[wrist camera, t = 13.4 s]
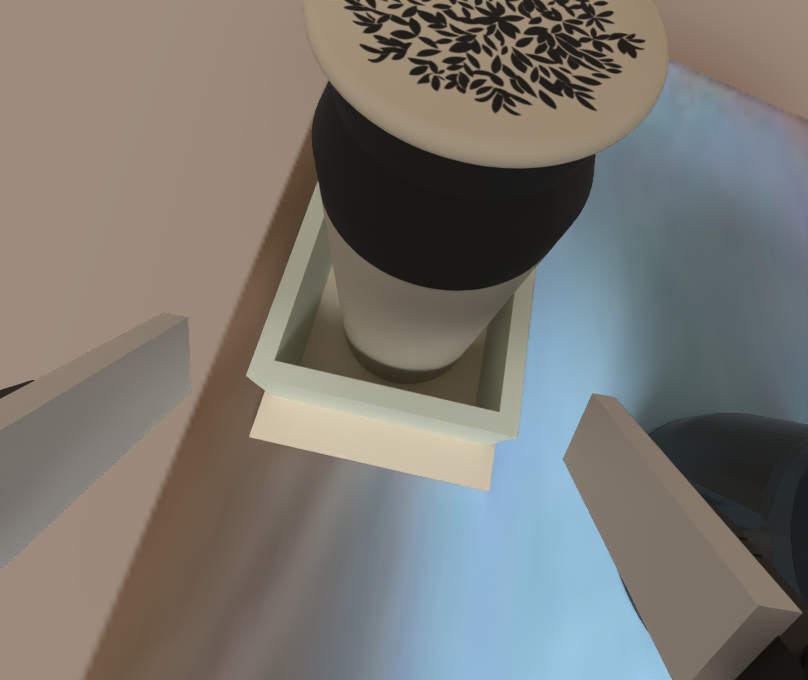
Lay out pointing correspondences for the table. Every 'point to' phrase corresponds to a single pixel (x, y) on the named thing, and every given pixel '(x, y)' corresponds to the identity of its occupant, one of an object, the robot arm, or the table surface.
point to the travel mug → (463, 153)
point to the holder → (382, 381)
